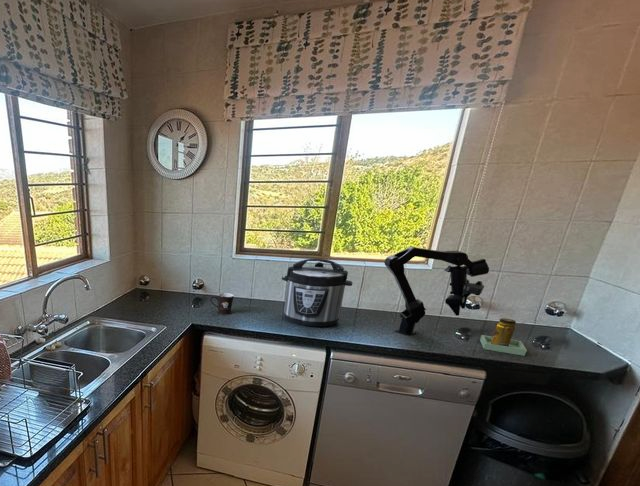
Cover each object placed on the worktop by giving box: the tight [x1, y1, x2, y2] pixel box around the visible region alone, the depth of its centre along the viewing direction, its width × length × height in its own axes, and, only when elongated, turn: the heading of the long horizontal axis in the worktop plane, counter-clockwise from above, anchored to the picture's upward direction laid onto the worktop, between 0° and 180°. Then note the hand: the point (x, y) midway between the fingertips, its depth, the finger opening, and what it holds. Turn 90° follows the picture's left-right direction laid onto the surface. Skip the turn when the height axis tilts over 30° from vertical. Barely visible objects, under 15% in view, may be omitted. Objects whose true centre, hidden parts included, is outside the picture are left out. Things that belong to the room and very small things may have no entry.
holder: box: [479, 334, 528, 357], centre depth 174 cm, size 14×13×3 cm
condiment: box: [487, 317, 517, 348], centre depth 173 cm, size 7×8×12 cm
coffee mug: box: [209, 292, 235, 315], centre depth 219 cm, size 12×9×10 cm
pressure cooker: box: [281, 258, 353, 328], centre depth 203 cm, size 30×28×32 cm
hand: (460, 311), depth 184 cm, fingers open, 9 cm apart
